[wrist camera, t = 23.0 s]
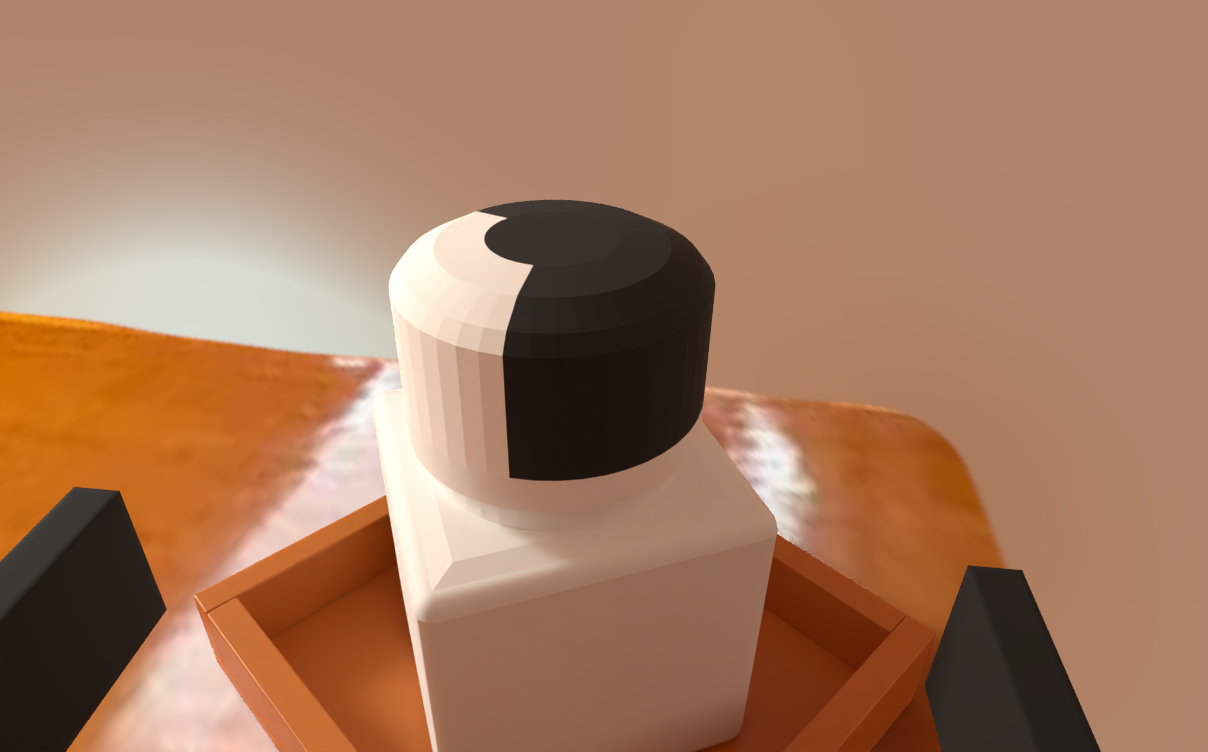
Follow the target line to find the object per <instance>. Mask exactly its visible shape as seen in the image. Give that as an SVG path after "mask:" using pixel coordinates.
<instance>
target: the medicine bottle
mask: <svg viewBox="0 0 1208 752" xmlns="http://www.w3.org/2000/svg"><path fill="white" fill-rule="evenodd" d="M714 294H715V280H714V275H713V272H712V270H711V268H710V266H709V265H708V263H707V262H706V261H705V259H704V258H703V257H702V255H701V254H700V253H699V251H698V250H697V249H696V247H695V246H694V245H693V244H692V243H691V242H690V241H689V240H688V239H687V238H686V237H684V236H683V235H681V234H680V233H678V232H677V231H675V230H674V229H672V228H670V227H668V226H666V225H664V224H662V223H659V222H657V221H654V220H652V219H649V218H646V217H644V216H641V215H638V214H635V213H633V212H630V211H627V210H624V209H621V208H617V207H613V206H608V205H604V204H598V203H592V202H582V201H572V200H535V201H524V202H515V203H509V204H503V205H498V206H494V207H489V208H486V209H483V210H479V211H476V212H474V213H471V214H468V215H465V216H463V217H460V218H458V219H455V220H452V221H450V222H447V223H445V224H443V225H441V226H439V227H437V228H435V229H433V230H431V231H429V232H428V233H426V234H425V235H423V236H421V237H420V238H419V239H418V240H417V241H416V242H414V244H412V245H411V246H410V248H409V249H408V250H407V252H406V253H405V254H404V256H403V257H402V258H401V260H400V261H399V262H398V264H397V265H396V267H395V268H394V270H393V272H392V274H391V277H390V281H389V295H390V302H391V309H392V317H393V324H394V331H395V339H396V346H397V353H398V360H399V368H400V375H401V382H402V389H397V390H391V391H386V392H382V393H381V394H379V395H378V396H377V397H376V398H375V399H374V402H373V407H372V412H373V418H374V424H375V430H376V436H377V443H378V449H379V455H380V461H381V467H382V473H383V479H384V485H385V491H386V497H387V503H388V509H389V515H390V521H391V527H392V533H393V539H394V545H395V551H396V557H397V564H398V570H399V576H400V582H401V588H402V594H403V600H404V605H405V610H406V615H407V620H408V626H409V631H410V636H411V641H412V647H413V652H414V657H415V662H416V667H417V673H418V678H419V683H420V688H421V694H422V699H423V704H424V709H425V714H426V720H427V725H428V730H429V735H430V740H431V746H432V751H433V752H697V751H700V750H703V749H706V748H709V747H712V746H715V745H718V744H721V743H724V742H727V741H730V740H732V739H734V738H735V737H737V736H738V734H739V733H740V730H741V728H742V723H743V718H744V712H745V707H746V701H747V696H748V690H749V685H750V679H751V674H752V668H753V663H754V657H755V652H756V646H757V641H758V635H759V630H760V624H761V618H762V613H763V607H764V602H765V596H766V591H767V585H768V580H769V574H770V569H771V563H772V558H773V552H774V547H775V541H776V536H777V530H778V529H777V523H776V520H775V517H774V515H773V514H772V513H771V511H770V510H769V509H768V507H767V506H766V505H765V503H764V502H763V501H762V500H761V498H760V497H759V496H758V494H757V493H756V492H755V490H754V489H753V488H752V486H751V485H750V484H749V482H748V481H747V480H746V479H745V477H744V476H743V475H742V473H741V472H740V471H739V469H738V468H737V467H736V465H735V464H734V463H733V461H732V460H731V459H730V458H729V456H728V455H727V454H726V452H725V451H724V450H723V448H722V447H721V446H720V444H719V443H718V442H717V440H716V439H715V438H714V436H713V435H712V434H711V433H710V431H709V430H708V429H707V427H706V426H705V425H704V423H703V422H702V421H701V420H702V411H703V401H704V391H705V381H706V372H707V362H708V352H709V342H710V333H711V322H712V313H713V303H714Z"/></svg>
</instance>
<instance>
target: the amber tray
mask: <svg viewBox="0 0 1208 752" xmlns="http://www.w3.org/2000/svg"><path fill="white" fill-rule="evenodd" d="M194 600H195V602H196V605H197V608H198V610H199V613H200V616H201V619H202V621H203V624H204V627H205V629H206V632H207V635H208V638H209V640H210V643H211V646H212V648H213V649H214V654H215V656H216V659H217V662H218V663H219V665H220V666H221V668H222V669H223V671H224V672H225V674H226V675H227V676H228V678H229V679H230V681H231V682H232V684H233V685H234V687H235V688H236V689H237V691H238V692H239V694H240V695H241V697H242V698H243V700H244V701H245V702H246V704H247V705H248V707H249V708H250V710H251V711H252V712H253V714H254V715H255V717H256V718H257V720H258V721H259V723H260V724H261V725H262V727H263V728H264V730H265V731H266V733H267V734H268V736H269V737H270V738H271V740H272V741H273V743H274V744H275V746H276V747H277V749H278V750H279V751H280V752H433V751H432V746H431V740H430V735H429V730H428V725H427V720H426V714H425V709H424V704H423V699H422V694H421V688H420V683H419V678H418V673H417V667H416V662H415V657H414V652H413V647H412V641H411V636H410V631H409V626H408V620H407V615H406V610H405V605H404V600H403V594H402V588H401V582H400V576H399V570H398V564H397V557H396V551H395V545H394V539H393V533H392V527H391V521H390V515H389V509H388V503H387V497H386V495H385V496H383V497H381V498H379V499H378V500H376V501H374V502H372V503H370V504H368V505H366V506H364V507H362V508H360V509H358V510H357V511H355V512H353V513H351V514H349V515H347V516H345V517H343V518H341V519H339V520H337V521H335V522H334V523H332V524H330V525H328V526H326V527H324V528H322V529H320V530H318V531H316V532H314V533H313V534H311V535H309V536H307V537H305V538H303V539H301V540H299V541H297V542H295V543H293V544H292V545H290V546H288V547H286V548H284V549H282V550H280V551H278V552H276V553H274V554H272V555H270V556H269V557H267V558H265V559H263V560H261V561H259V562H257V563H255V564H253V565H251V566H249V567H248V568H246V569H244V570H242V571H240V572H238V573H236V574H234V575H232V576H230V577H228V578H226V579H225V580H223V581H221V582H219V583H217V584H215V585H213V586H211V587H209V588H207V589H205V590H204V591H202V592H200V593H198V594H196V595H195V596H194ZM935 636H936V633H935V632H933V631H932V630H930V629H928V628H927V627H925V626H924V625H922V624H920V623H919V622H917V621H916V620H914V619H912V618H911V617H909V616H906V615H905V614H904V613H903V612H901V611H900V610H898V609H896V608H895V607H893V606H892V605H890V604H888V603H887V602H885V601H883V600H882V599H880V598H879V597H877V596H875V595H874V594H872V593H871V592H869V591H867V590H866V589H864V588H863V587H861V586H859V585H858V584H856V583H855V582H853V581H851V580H850V579H848V578H847V577H845V576H843V575H842V574H840V573H839V572H837V571H835V570H834V569H832V568H831V567H829V566H827V565H826V564H824V563H822V562H821V561H819V560H818V559H816V558H814V557H813V556H811V555H810V554H808V553H806V552H805V551H803V550H802V549H800V548H798V547H797V546H795V545H794V544H792V543H790V542H789V541H787V540H786V539H784V538H782V537H781V536H779V535H778V534H777V536H776V541H775V547H774V552H773V558H772V563H771V569H770V574H769V580H768V585H767V591H766V596H765V602H764V607H763V613H762V618H761V624H760V630H759V635H758V641H757V646H756V652H755V657H754V663H753V668H752V674H751V679H750V685H749V690H748V696H747V701H746V707H745V712H744V718H743V723H742V728H741V730H740V733H739V734H738V736H737V737H735V738H734V739H732V740H730V741H727V742H724V743H721V744H718V745H715V746H712V747H709V748H706V749H703V750H700V751H697V752H870V751H871V750H872V749H873V748H874V746H875V745H876V744H877V743H878V741H879V740H880V739H881V738H882V737H883V735H884V734H885V733H886V732H887V730H888V729H889V728H890V727H891V725H892V724H893V723H894V722H895V721H896V719H897V718H898V717H899V716H900V714H901V713H902V712H903V711H904V709H905V708H906V707H907V706H908V705H909V703H910V702H911V701H912V700H913V697H914V695H915V692H916V689H917V686H918V684H919V681H920V678H921V675H922V673H923V670H924V667H925V664H926V661H927V659H928V656H929V653H930V650H931V647H932V645H933V642H934V639H935Z"/></svg>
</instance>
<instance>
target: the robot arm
mask: <svg viewBox="0 0 1208 752" xmlns="http://www.w3.org/2000/svg"><path fill="white" fill-rule="evenodd" d="M166 610H167V609H166V607H165V604H164V602H163V599H162V597H161V594H160V592H159V589H158V586H157V584H156V581H155V579H154V576H153V574H152V571H151V569H150V566H149V564H148V561H147V559H146V556H145V554H144V551H143V549H142V546H141V544H140V541H139V539H138V536H137V534H136V531H135V529H134V526H133V524H132V521H131V519H130V516H129V514H128V511H127V509H126V506H125V504H124V501H123V499H122V496H121V494H120V491H113V490H102V489H90V488H79V487H74V488H73V489H72V490H71V491H70V492H69V493H68V494H67V495H66V496H65V497H64V498H63V499H62V500H61V501H60V502H59V503H58V504H57V505H56V506H55V507H54V508H53V509H52V510H51V511H50V512H49V513H48V514H47V515H46V516H45V517H44V518H43V519H42V520H41V521H40V522H39V523H38V524H37V525H36V526H35V527H34V528H33V529H32V530H31V531H30V532H29V533H28V534H27V535H26V536H25V537H24V538H23V539H22V540H21V541H20V542H19V543H18V544H17V545H16V546H15V547H14V548H13V549H12V550H11V551H10V552H9V553H8V554H7V555H6V556H5V557H4V558H3V559H2V560H1V561H0V752H66V751H67V749H68V748H69V746H70V745H71V744H72V742H73V741H74V739H75V738H76V737H77V735H78V734H79V732H80V731H81V730H82V728H83V727H84V725H85V724H86V722H87V721H88V720H89V718H90V717H91V715H92V714H93V713H94V711H95V710H96V708H97V707H98V706H99V704H100V703H101V701H102V700H103V699H104V697H105V696H106V694H107V693H108V691H109V690H110V689H111V687H112V686H113V684H114V683H115V682H116V680H117V679H118V677H119V676H120V675H121V673H122V672H123V670H124V669H125V668H126V666H127V665H128V663H129V662H130V660H131V659H132V658H133V656H134V655H135V653H136V652H137V651H138V649H139V648H140V646H141V645H142V644H143V642H144V641H145V639H146V638H147V637H148V635H149V634H150V632H151V631H152V629H153V628H154V627H155V625H156V624H157V622H158V621H159V620H160V618H161V617H162V615H163V614H164V613H165V611H166ZM925 688H926V692H927V696H928V699H929V703H930V707H931V711H932V715H933V719H934V723H935V727H936V730H937V734H938V738H939V742H940V746H941V750H942V752H1101V751H1100V749H1099V746H1098V744H1097V742H1096V740H1095V737H1094V735H1093V733H1092V730H1091V728H1090V726H1089V724H1088V721H1087V719H1086V716H1085V714H1084V712H1083V710H1082V707H1081V705H1080V703H1079V700H1078V698H1077V696H1076V693H1075V691H1074V689H1073V687H1072V684H1071V682H1070V680H1069V677H1068V675H1067V673H1066V670H1065V668H1064V666H1063V664H1062V661H1061V659H1060V657H1059V654H1058V652H1057V650H1056V647H1055V645H1054V643H1053V641H1052V638H1051V636H1050V634H1049V631H1048V629H1047V627H1046V624H1045V622H1044V620H1043V617H1042V615H1041V613H1040V611H1039V608H1038V606H1037V603H1036V601H1035V599H1034V597H1033V594H1032V592H1031V590H1030V587H1029V585H1028V583H1027V580H1026V578H1025V576H1024V574H1023V571H1022V570H1013V569H1002V568H991V567H979V566H968V567H967V570H966V572H965V575H964V578H963V581H962V583H961V586H960V589H959V592H958V594H957V597H956V600H955V603H954V605H953V608H952V611H951V614H950V617H949V619H948V622H947V625H946V628H945V630H944V633H943V636H942V639H941V641H940V644H939V647H938V650H937V652H936V655H935V658H934V661H933V663H932V666H931V669H930V672H929V675H928V677H927V680H926V683H925Z"/></svg>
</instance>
